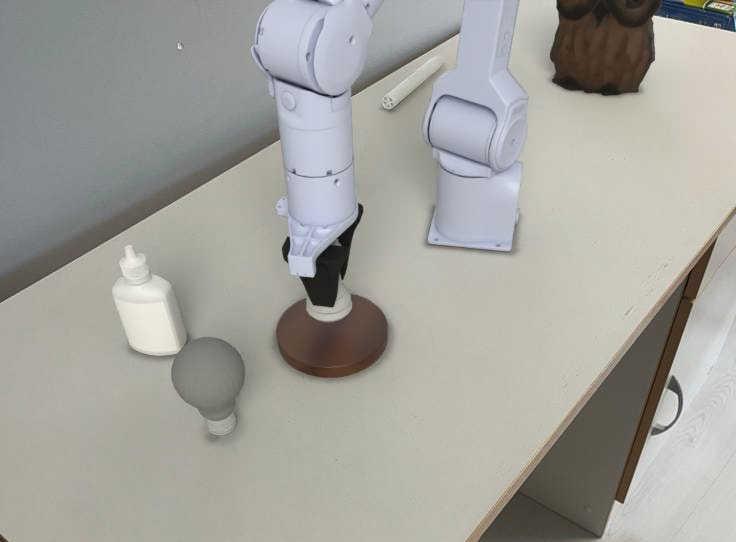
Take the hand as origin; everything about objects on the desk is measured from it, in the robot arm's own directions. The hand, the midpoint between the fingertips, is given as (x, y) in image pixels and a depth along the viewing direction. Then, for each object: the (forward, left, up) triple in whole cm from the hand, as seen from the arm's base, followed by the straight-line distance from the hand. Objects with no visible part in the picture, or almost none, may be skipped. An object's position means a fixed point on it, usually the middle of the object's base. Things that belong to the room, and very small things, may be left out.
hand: (328, 290), depth 67 cm
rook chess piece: (0, 0, -3) cm, 3 cm away
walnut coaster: (0, 0, -6) cm, 6 cm away
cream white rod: (+1, -58, -6) cm, 58 cm away
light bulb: (+7, +13, -6) cm, 16 cm away
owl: (-27, -64, -6) cm, 70 cm away
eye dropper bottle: (+17, +4, -6) cm, 19 cm away
